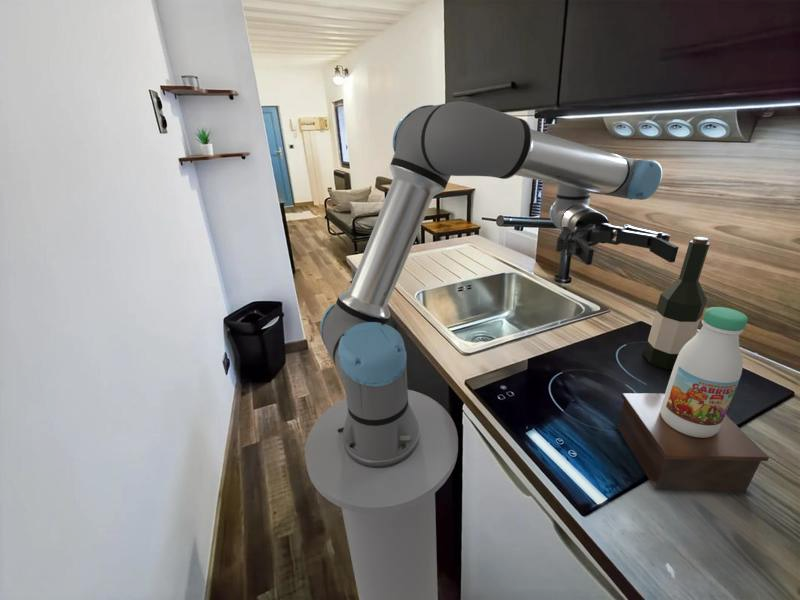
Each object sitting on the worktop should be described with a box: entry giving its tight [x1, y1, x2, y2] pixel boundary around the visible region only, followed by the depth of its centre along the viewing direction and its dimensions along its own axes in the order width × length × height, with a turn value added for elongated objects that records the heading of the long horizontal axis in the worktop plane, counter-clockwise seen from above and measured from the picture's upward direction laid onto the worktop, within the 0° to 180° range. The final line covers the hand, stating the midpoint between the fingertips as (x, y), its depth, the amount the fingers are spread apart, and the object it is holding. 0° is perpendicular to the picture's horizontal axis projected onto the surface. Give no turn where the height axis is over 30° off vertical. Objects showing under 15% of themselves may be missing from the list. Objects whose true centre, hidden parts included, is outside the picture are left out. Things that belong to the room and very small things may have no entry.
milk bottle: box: [660, 306, 749, 438], centre depth 55 cm, size 8×8×20 cm
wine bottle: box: [643, 236, 711, 370], centre depth 81 cm, size 8×8×30 cm
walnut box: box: [616, 392, 770, 493], centre depth 61 cm, size 14×14×8 cm
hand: (631, 256), depth 62 cm, fingers open, 13 cm apart
